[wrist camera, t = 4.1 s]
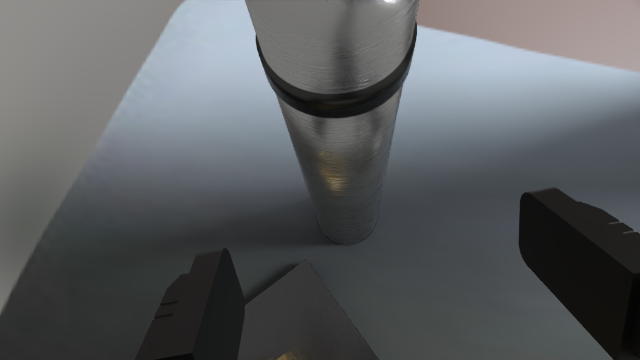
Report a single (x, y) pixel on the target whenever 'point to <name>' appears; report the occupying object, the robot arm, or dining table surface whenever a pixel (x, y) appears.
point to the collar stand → (300, 323)
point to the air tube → (338, 96)
